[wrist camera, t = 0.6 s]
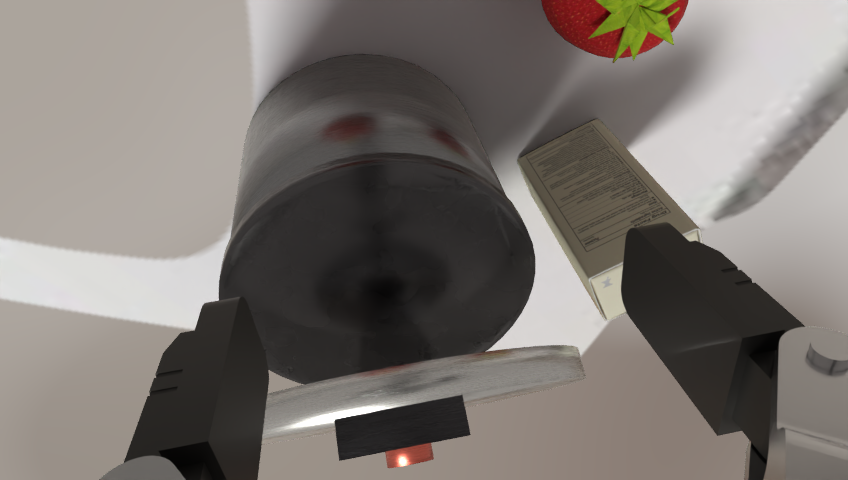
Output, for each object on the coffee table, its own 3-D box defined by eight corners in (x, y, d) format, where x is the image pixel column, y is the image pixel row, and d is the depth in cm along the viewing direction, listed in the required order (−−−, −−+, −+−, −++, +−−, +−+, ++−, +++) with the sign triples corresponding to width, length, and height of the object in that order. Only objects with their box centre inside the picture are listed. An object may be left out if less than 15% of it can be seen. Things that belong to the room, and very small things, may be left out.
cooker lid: (127, 408, 17) (128, 532, 16) (636, 315, 18) (670, 424, 17) (266, 421, 33) (271, 483, 31) (531, 371, 34) (545, 429, 33)
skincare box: (533, 200, 41) (600, 327, 32) (514, 157, 38) (581, 282, 29) (616, 161, 40) (710, 280, 31) (603, 113, 37) (702, 229, 28)
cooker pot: (205, 71, 31) (166, 198, 22) (477, 33, 32) (546, 139, 23) (274, 270, 41) (267, 412, 32) (479, 236, 42) (527, 364, 33)
